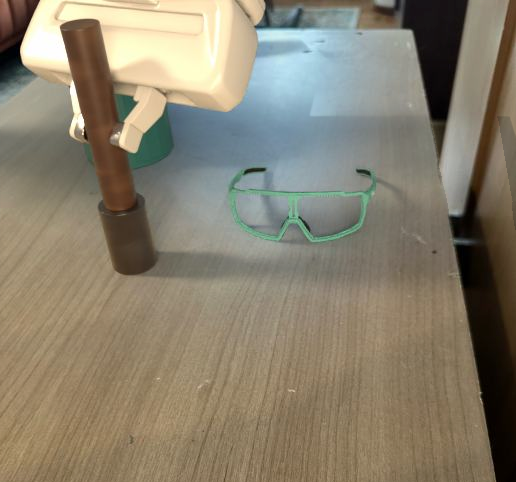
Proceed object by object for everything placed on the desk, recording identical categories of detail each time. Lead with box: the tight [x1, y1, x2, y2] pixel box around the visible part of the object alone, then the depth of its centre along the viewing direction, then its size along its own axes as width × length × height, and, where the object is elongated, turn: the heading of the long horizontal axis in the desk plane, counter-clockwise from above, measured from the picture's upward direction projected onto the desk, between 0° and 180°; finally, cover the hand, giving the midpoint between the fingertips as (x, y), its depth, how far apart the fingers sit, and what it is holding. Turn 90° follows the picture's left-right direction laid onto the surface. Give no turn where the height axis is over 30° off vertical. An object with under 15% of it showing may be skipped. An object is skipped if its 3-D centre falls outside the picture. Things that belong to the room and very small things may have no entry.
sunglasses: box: [228, 166, 377, 243], centre depth 63 cm, size 14×15×5 cm
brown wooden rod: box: [60, 18, 158, 276], centre depth 52 cm, size 4×4×20 cm
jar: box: [68, 86, 174, 170], centre depth 73 cm, size 10×10×11 cm
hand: (102, 145), depth 50 cm, fingers closed on brown wooden rod, 3 cm apart
